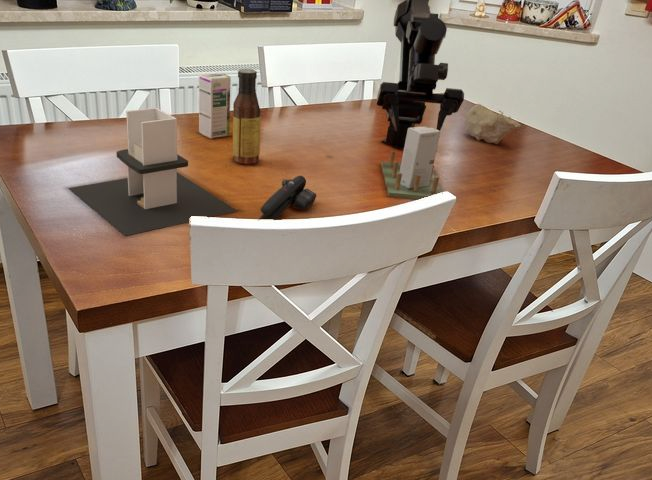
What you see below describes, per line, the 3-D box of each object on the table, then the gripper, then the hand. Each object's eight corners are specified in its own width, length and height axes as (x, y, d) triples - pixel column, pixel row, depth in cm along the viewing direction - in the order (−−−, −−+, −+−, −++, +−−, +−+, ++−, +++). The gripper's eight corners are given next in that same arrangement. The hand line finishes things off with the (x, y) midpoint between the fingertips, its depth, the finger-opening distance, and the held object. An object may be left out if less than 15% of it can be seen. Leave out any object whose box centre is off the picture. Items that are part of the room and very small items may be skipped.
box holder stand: (67, 188, 131) (58, 103, 121) (173, 170, 144) (173, 92, 134) (125, 235, 115) (119, 143, 106) (238, 210, 128) (242, 126, 119)
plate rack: (380, 165, 157) (384, 147, 154) (430, 170, 157) (434, 151, 154) (387, 196, 140) (391, 176, 138) (443, 202, 140) (448, 181, 138)
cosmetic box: (409, 189, 142) (421, 133, 135) (396, 182, 145) (406, 127, 138) (430, 185, 145) (442, 131, 138) (416, 179, 148) (427, 125, 141)
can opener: (290, 195, 137) (292, 168, 134) (319, 203, 134) (322, 177, 131) (244, 221, 124) (246, 193, 121) (276, 231, 121) (278, 203, 118)
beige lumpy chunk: (456, 137, 189) (458, 112, 174) (472, 117, 188) (475, 91, 174) (499, 166, 185) (505, 143, 170) (516, 145, 184) (523, 121, 170)
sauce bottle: (263, 160, 153) (269, 71, 142) (250, 167, 148) (255, 75, 137) (239, 154, 155) (243, 65, 144) (226, 161, 151) (229, 70, 139)
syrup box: (211, 139, 163) (212, 78, 155) (198, 132, 167) (198, 72, 159) (229, 136, 166) (231, 76, 158) (216, 129, 170) (217, 71, 162)
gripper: (387, 42, 141) (382, 109, 138) (473, 50, 140) (470, 117, 138) (378, 73, 152) (373, 135, 149) (458, 80, 151) (455, 142, 149)
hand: (417, 132), depth 146 cm, fingers open, 9 cm apart
